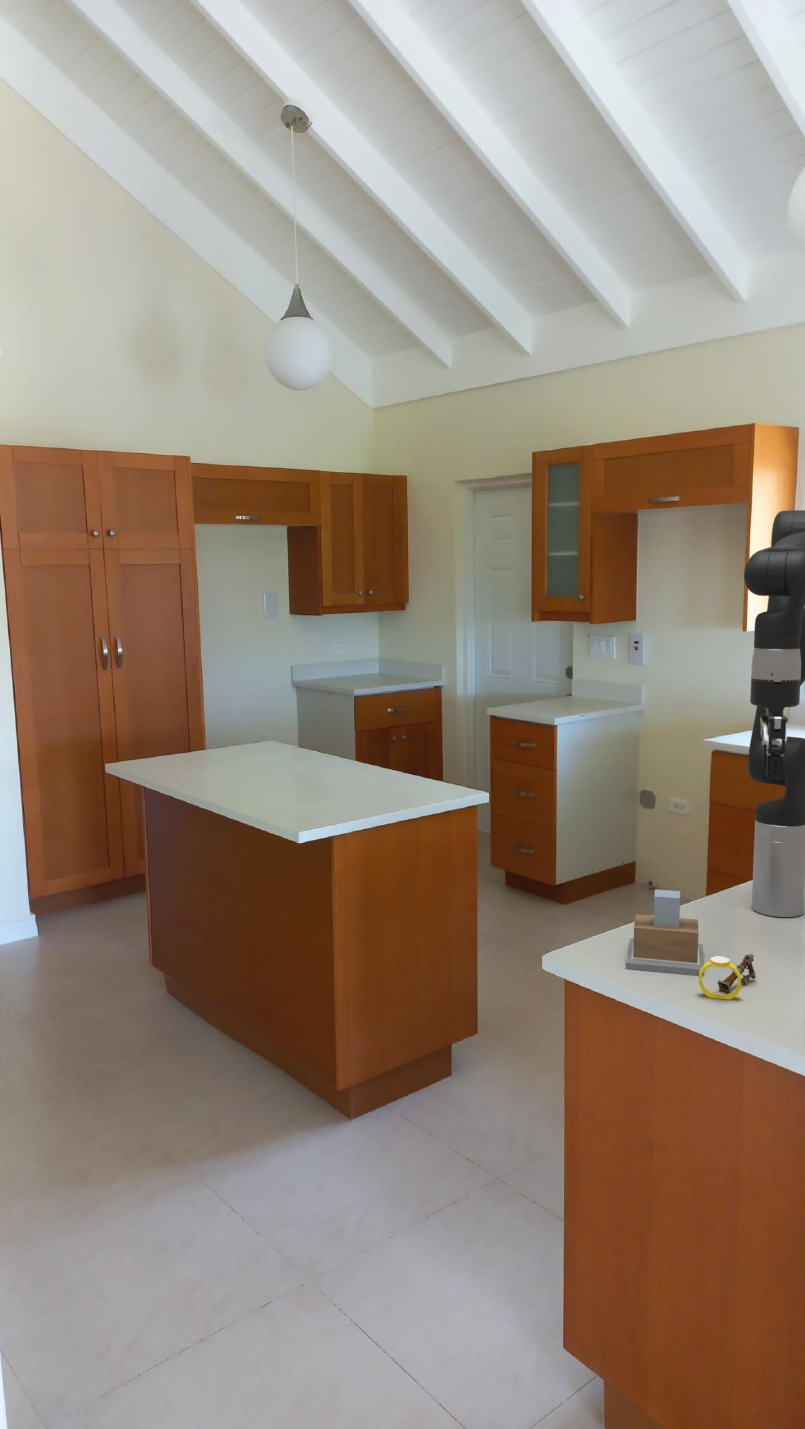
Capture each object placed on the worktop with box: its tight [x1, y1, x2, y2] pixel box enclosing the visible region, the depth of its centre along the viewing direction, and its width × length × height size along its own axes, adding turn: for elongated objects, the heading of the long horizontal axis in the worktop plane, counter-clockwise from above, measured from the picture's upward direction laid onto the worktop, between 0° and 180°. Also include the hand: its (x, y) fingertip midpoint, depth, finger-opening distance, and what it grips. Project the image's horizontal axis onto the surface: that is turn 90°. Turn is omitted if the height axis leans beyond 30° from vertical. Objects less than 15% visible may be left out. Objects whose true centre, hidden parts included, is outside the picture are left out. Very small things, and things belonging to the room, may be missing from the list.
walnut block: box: [633, 914, 700, 963], centre depth 164 cm, size 7×10×5 cm
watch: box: [698, 955, 742, 1001], centre depth 148 cm, size 6×3×6 cm, turn 73°
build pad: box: [625, 937, 705, 977], centre depth 164 cm, size 12×12×1 cm
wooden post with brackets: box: [717, 953, 757, 994], centre depth 153 cm, size 2×8×4 cm, turn 127°
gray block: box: [653, 888, 681, 928], centre depth 163 cm, size 4×4×5 cm
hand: (771, 774), depth 164 cm, fingers open, 8 cm apart
